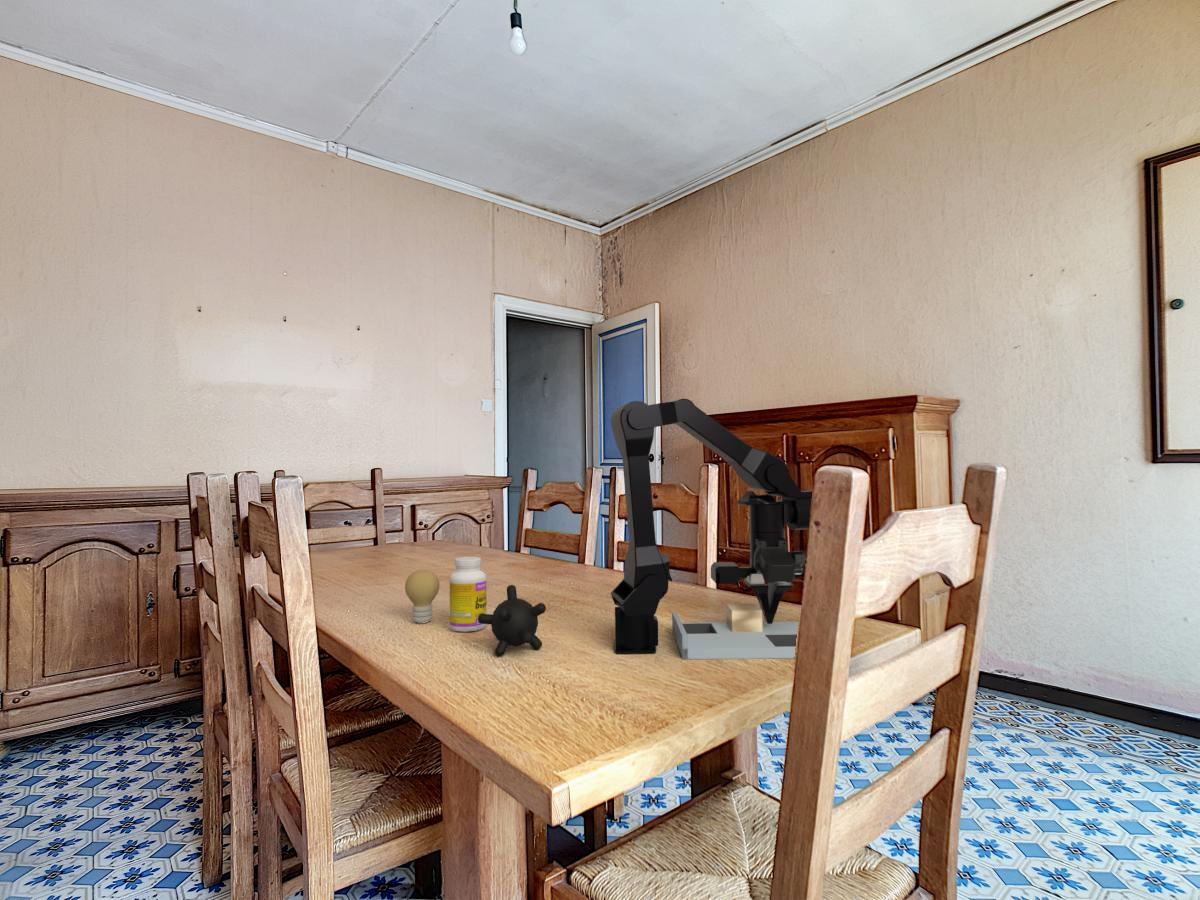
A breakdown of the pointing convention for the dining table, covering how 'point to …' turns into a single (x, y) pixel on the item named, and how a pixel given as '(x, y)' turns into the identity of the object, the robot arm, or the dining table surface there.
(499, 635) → the toy ball
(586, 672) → the dining table surface
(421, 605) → the light bulb
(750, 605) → the block
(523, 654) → the dining table surface
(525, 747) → the dining table surface
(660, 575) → the robot arm
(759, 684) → the dining table surface
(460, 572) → the supplement bottle
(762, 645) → the board
